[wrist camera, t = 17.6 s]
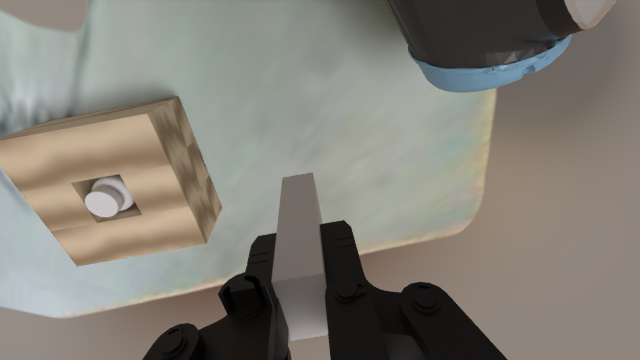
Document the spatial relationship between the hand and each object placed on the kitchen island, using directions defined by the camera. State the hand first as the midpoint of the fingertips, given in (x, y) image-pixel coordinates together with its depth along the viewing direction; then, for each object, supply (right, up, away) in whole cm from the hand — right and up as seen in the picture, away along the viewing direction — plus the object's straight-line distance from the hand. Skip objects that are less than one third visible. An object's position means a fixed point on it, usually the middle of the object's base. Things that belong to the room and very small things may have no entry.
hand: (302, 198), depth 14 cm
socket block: (-28, +3, +33) cm, 43 cm away
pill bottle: (-29, +2, +32) cm, 43 cm away
